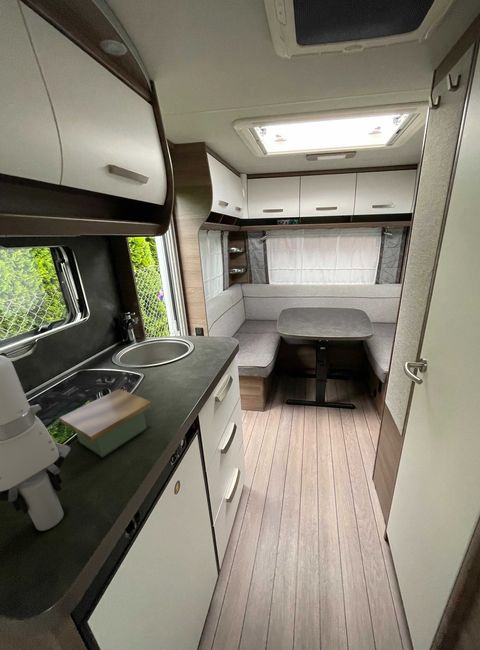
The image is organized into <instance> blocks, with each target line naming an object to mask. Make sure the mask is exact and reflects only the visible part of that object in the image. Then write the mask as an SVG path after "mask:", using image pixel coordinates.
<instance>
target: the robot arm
mask: <svg viewBox="0 0 480 650" xmlns="http://www.w3.org/2000/svg"><path fill="white" fill-rule="evenodd" d="M42 410H43V409H42V407H41V405H40V404H35V405H30V403H29V401H28V398H27V396H26V393H25V391H24V389H23V386H22V383H21V381H20V379H19V376H18V373H17V371H16V368H15V366H14V364H13V362H12V361H11V359H10V358H8V357H7V356H5V355H0V502H2V501H3V502H5V501H6V502H7V501H8V502H9V503H10V505H11V506H12V508H13V510H14V511H15V513H17V512H19V511H21V512H22V513H23V515H26V514H27V513H29V512H28V511H29V510H28V508H27V506H26V504H25V502H24V500H23V498H22V497H21V496H20V494H19V492H18V490H17V484H19V483H20V482H22V481H24V480H26V479H27V478H29V477H31V476H32V475H34V474H36V473H37V472H39V471H41V470H45V469H46V470H45V472H46V473H47V474H48V476H49V478H50V481H51V483H52V485H53V488H54V490H55V492H60V491H62V487H61V484H62V483H63V481H62V478H61V476H60V473H61V469H60V468H61V467H62V466H63V464H64V461H65V458H66V457H67V456H68V454H69V453H70V452H71V447H70V446H69V445H67V444H63V443H60V442H56V441H54V439H53V437H52V436H51V434H50V432H49V431H48V429H47V427H46V425H45V424H44V423H43V421H42V420H41V419H40V418H39V417H38V416H37V415H36V414H38V413H39V412H41V411H42Z"/></svg>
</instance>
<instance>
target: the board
mask: <svg viewBox="0 0 480 650" xmlns="http://www.w3.org/2000/svg"><path fill="white" fill-rule="evenodd" d="M151 407H153V403H152V401H150V400H148V399H145V398H143V397H140V396H139V395H136V394H133V393H131V392H128V391H125V390H123V389H121V388H118V389H116V390H113V391H111V392H109V393H107V394H106V395H103V396H101V397H99V398H97V399H95V400H93V401H91V402H89V403H87V404H84V405H82V406H80V407H78V408H76V409H74V410H72V411H70V412H68V413H66V414H64V415H61V416H59V417H58V419H59V421H60V423H62V425H65V426H66V427H68V428H70V429H71V430H73V431H74V432H75V433H76V432H78V433H79V434H81V435H82V436H84V437H86V438H87V439H89V440H91V441H94V440H96V439H97V438H99V437H101V436H102V435H104V434H106V433H108V432H109V431H111V430H113V429H114V428H116V427H118V426H119V425H121V424H123V423H124V422H126V421H128V420H129V419H131V418H133V417H135V416H136V415H138V414H140V413H141V412H143V413H144V412H145V411H146V410H148V409H150V408H151Z"/></svg>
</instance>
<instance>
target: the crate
mask: <svg viewBox="0 0 480 650" xmlns="http://www.w3.org/2000/svg"><path fill="white" fill-rule="evenodd" d="M147 429H148V426H147V423H146V419H145V415H144V411H143V412H141V413H140V414H138V415H136V416H135V417H133V418H131V419H129V420H128V421H126V422H124V423H123V424H121V425H119V426H118V427H116V428H114V429H113V430H111V431H109V432H108V433H106V434H104V435H102V436H101V437H99V438H97V439H96V440H94V441H91V440H89V439H87V438H86V437H84V436H82V435H81V434H79V433H78V432H76V431H75V433H76V434H75V435H76V436H77V439H78V443H80V444H81V445H83V446H84V447H86V448H87V449H89V451H92V452H94V453H95V454H96V455H98V456H100V457H101V458H104V457H106V456H107V455H109V454H110V453H112V452H114V450H116V449H118V448H120V447H121V446H122V445H125V444H126V443H127V442H128V441H130V440H132V439H133V438H134V437H136V436H138V435H139V434H141V433H142V432H144V431H146V430H147Z"/></svg>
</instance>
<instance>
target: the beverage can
mask: <svg viewBox="0 0 480 650" xmlns="http://www.w3.org/2000/svg"><path fill="white" fill-rule="evenodd" d="M17 492H18V493H19V495H20V496H21V497H22V498H23V500H24V502H25V504H26V506H27V508H28V510H29V511H28V512H27V513H28V514H29V516H30V518H31V520H32V522H33V525H34V527H35V528H36V530H38V531H41V532H42V531H47V530H50V529H52V528H53V527H55V526H56V525H58V524H59V523H60V522H61V521H62V519H63V518H64V514H65V513H64V510H63V507H62V505H61V502H60V500H59V498H58V495H57V492H56V490H55V489H54V488H53V485H52V483H51V481H50V478H49V476H48V474H47V473H46V470H45V469H43V470H41V471H39V472H37V473H36V474H34V475H32V476H31V477H29V478H27V479H26V480H24V481H22V482H20V483H19V484H17Z"/></svg>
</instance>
